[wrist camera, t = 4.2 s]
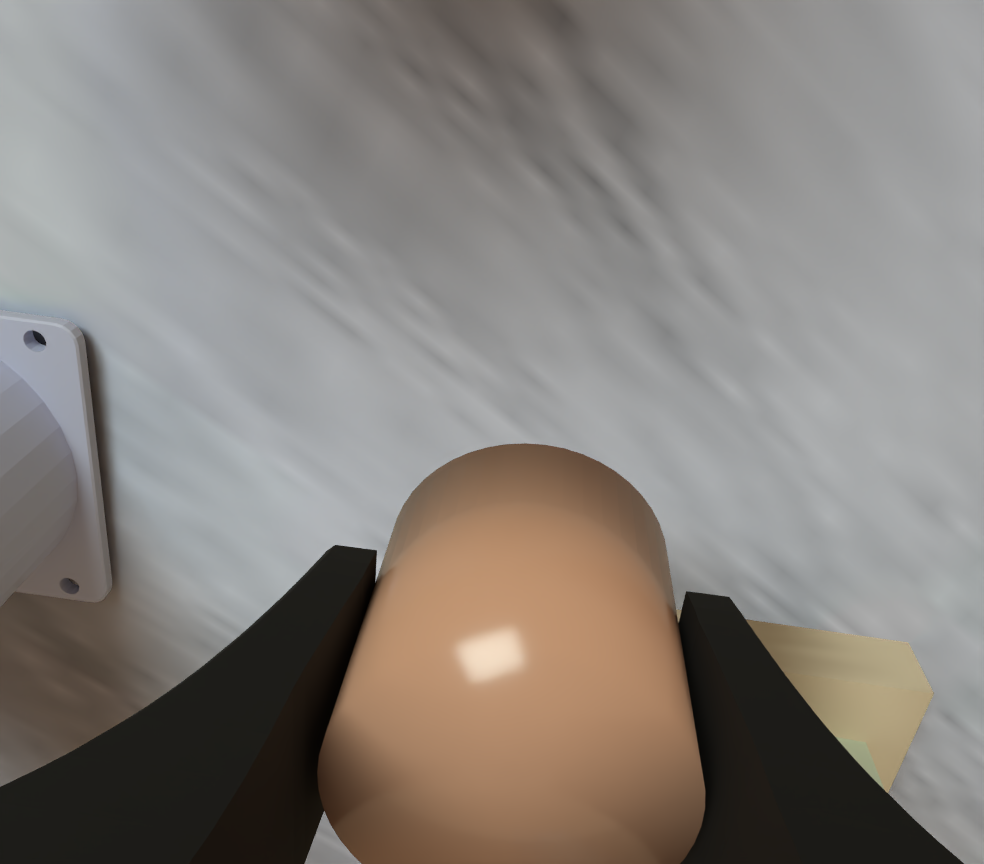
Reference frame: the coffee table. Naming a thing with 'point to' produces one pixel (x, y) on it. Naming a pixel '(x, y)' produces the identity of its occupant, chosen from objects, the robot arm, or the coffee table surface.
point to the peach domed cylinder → (517, 677)
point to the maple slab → (854, 686)
